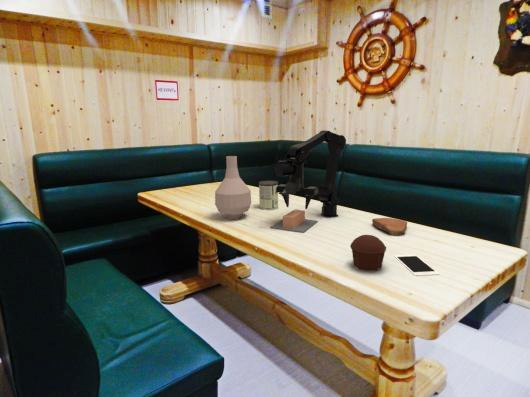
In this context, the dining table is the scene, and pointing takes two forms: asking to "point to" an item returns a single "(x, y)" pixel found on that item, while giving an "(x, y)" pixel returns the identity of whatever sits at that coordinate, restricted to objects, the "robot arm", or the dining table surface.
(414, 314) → the dining table surface
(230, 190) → the vase
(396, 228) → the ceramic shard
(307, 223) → the charcoal mat
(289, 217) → the terracotta block
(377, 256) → the muffin
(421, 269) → the cell phone
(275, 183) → the coffee can
